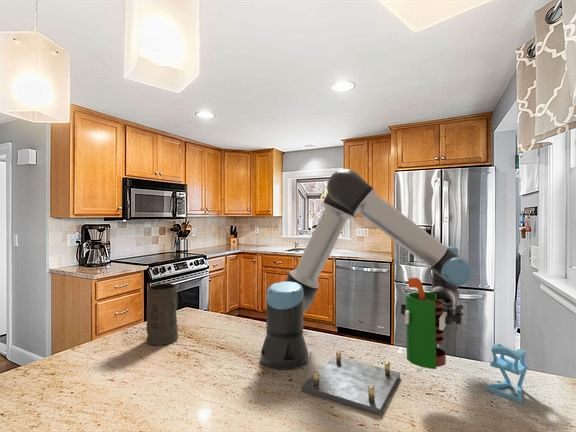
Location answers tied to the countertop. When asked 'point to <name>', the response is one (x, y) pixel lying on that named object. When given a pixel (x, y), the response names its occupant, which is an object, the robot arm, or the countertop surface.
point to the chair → (508, 366)
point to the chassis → (353, 384)
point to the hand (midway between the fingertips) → (423, 321)
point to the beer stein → (162, 314)
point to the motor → (424, 328)
